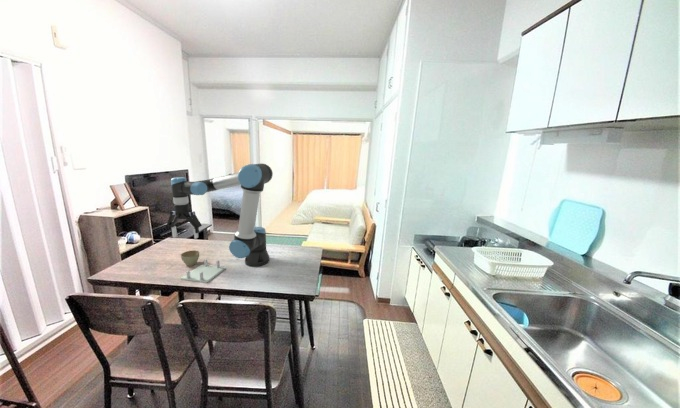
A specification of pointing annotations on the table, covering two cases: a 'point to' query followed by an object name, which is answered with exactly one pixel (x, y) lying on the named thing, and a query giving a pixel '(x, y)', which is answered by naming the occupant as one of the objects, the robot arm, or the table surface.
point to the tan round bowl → (190, 257)
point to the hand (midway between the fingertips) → (185, 237)
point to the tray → (203, 272)
